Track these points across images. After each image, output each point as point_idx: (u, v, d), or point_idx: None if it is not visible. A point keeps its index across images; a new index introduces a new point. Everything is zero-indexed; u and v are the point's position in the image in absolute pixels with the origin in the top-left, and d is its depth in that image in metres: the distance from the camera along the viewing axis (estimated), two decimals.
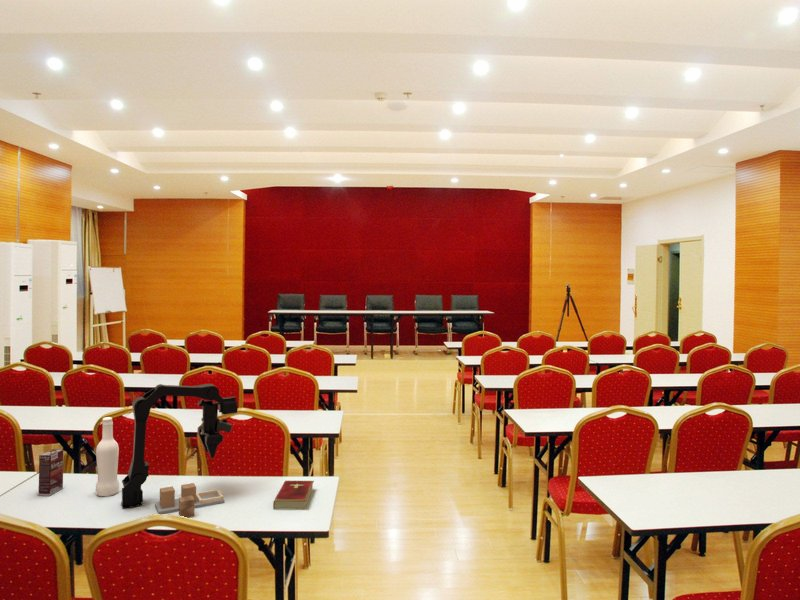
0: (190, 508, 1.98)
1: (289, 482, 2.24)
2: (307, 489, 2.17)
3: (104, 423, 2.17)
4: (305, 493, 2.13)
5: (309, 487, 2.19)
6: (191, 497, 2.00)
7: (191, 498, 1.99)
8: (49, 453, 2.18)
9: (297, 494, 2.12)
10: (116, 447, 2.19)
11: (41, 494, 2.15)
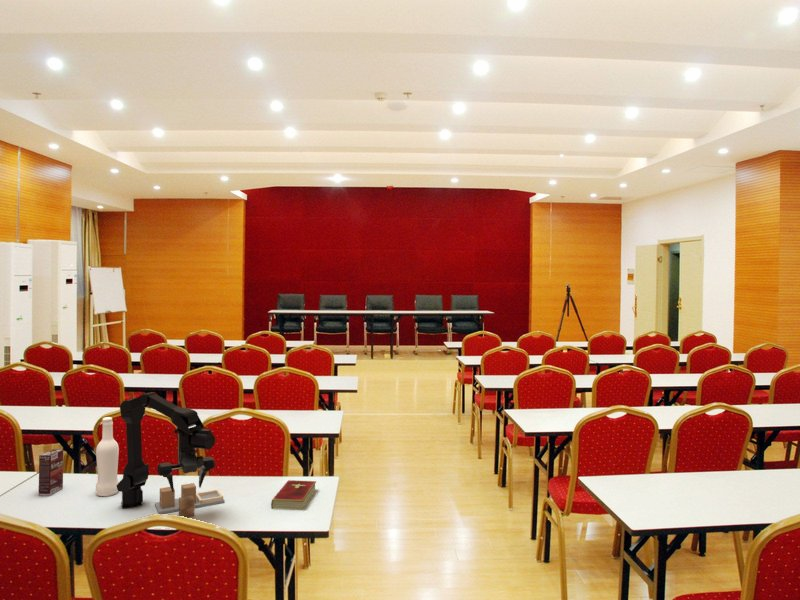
0: (190, 508, 1.98)
1: (292, 482, 2.24)
2: (307, 489, 2.16)
3: (104, 423, 2.17)
4: (305, 493, 2.12)
5: (310, 487, 2.18)
6: (191, 497, 2.00)
7: (191, 498, 1.99)
8: (49, 453, 2.18)
9: (296, 494, 2.12)
10: (116, 447, 2.19)
11: (41, 494, 2.15)
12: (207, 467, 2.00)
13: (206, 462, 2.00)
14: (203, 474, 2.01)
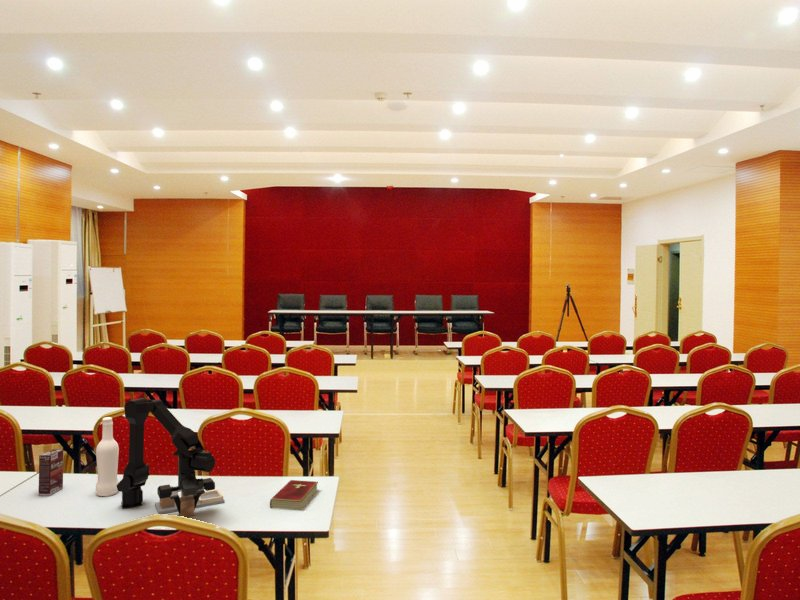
0: (190, 508, 1.98)
1: (293, 482, 2.25)
2: (307, 490, 2.16)
3: (104, 423, 2.17)
4: (304, 493, 2.12)
5: (310, 488, 2.18)
6: (191, 497, 2.00)
7: (191, 498, 1.99)
8: (49, 453, 2.18)
9: (296, 494, 2.12)
10: (116, 447, 2.19)
11: (41, 494, 2.15)
12: (207, 489, 2.00)
13: (206, 484, 2.00)
14: (197, 497, 2.00)
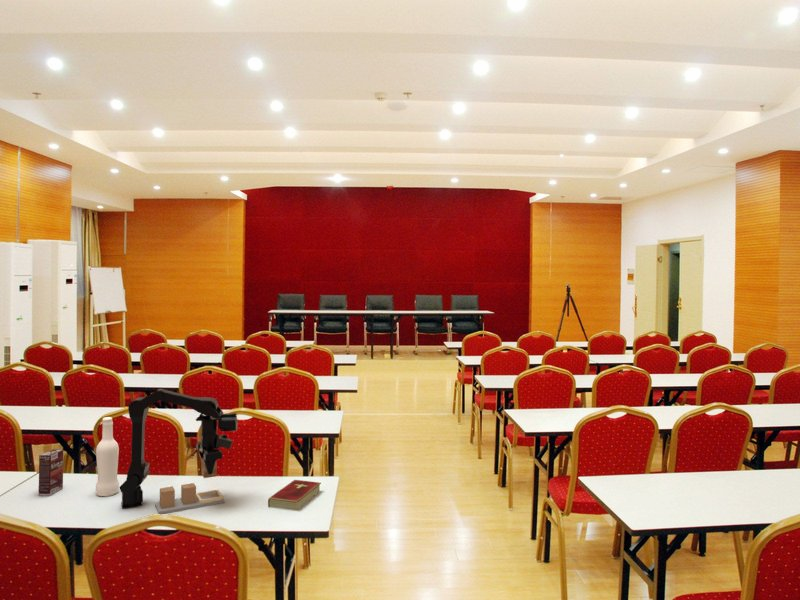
0: None
1: (297, 482, 2.25)
2: (307, 490, 2.15)
3: (104, 423, 2.17)
4: (303, 494, 2.11)
5: (311, 489, 2.17)
6: None
7: None
8: (49, 453, 2.18)
9: (295, 494, 2.11)
10: (116, 447, 2.19)
11: (41, 494, 2.15)
12: None
13: None
14: None
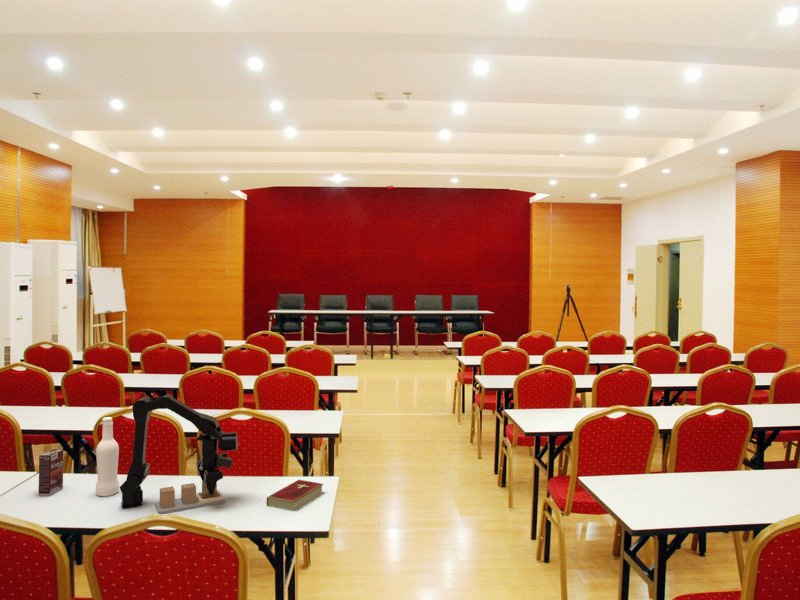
0: None
1: (300, 482, 2.25)
2: (307, 491, 2.15)
3: (104, 423, 2.17)
4: (301, 494, 2.11)
5: (311, 489, 2.16)
6: None
7: None
8: (49, 453, 2.18)
9: (293, 494, 2.11)
10: (116, 447, 2.19)
11: (41, 494, 2.15)
12: None
13: None
14: None
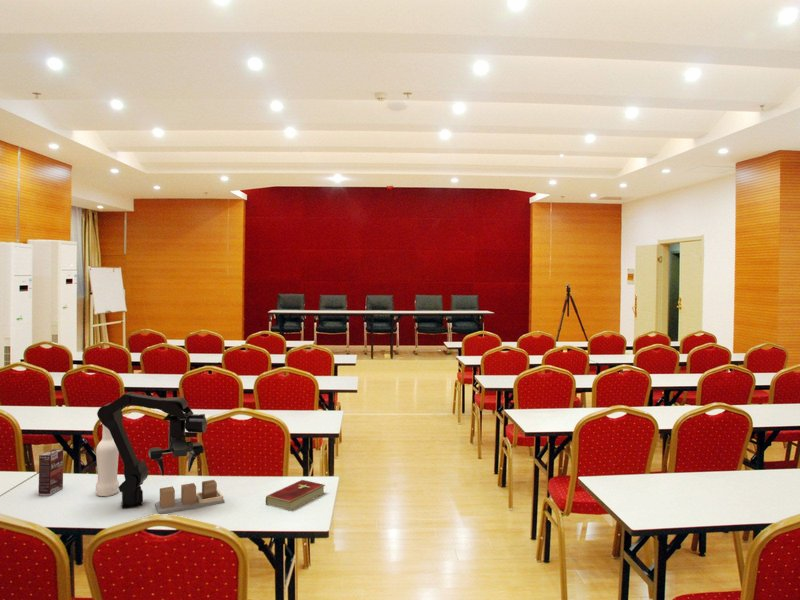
0: None
1: (302, 482, 2.25)
2: (307, 491, 2.14)
3: None
4: (300, 495, 2.10)
5: (311, 490, 2.16)
6: (207, 481, 2.14)
7: (210, 480, 2.15)
8: (49, 453, 2.18)
9: (293, 494, 2.11)
10: (116, 447, 2.19)
11: (41, 494, 2.15)
12: (196, 452, 2.09)
13: (195, 447, 2.10)
14: (192, 459, 2.10)
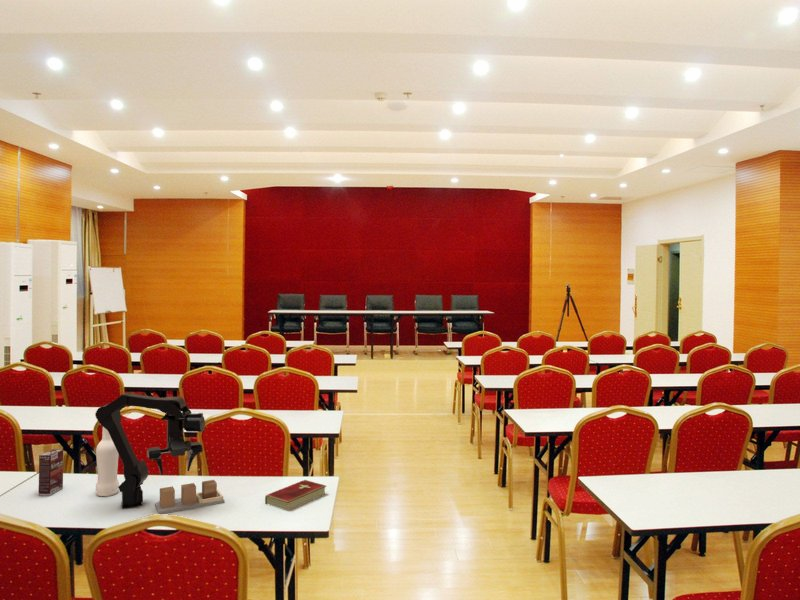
0: None
1: (304, 482, 2.25)
2: (306, 492, 2.14)
3: None
4: (299, 495, 2.10)
5: (311, 491, 2.15)
6: (207, 481, 2.14)
7: (210, 480, 2.15)
8: (49, 453, 2.18)
9: (292, 494, 2.11)
10: None
11: (41, 494, 2.15)
12: (195, 451, 2.09)
13: (194, 446, 2.09)
14: (191, 458, 2.10)
